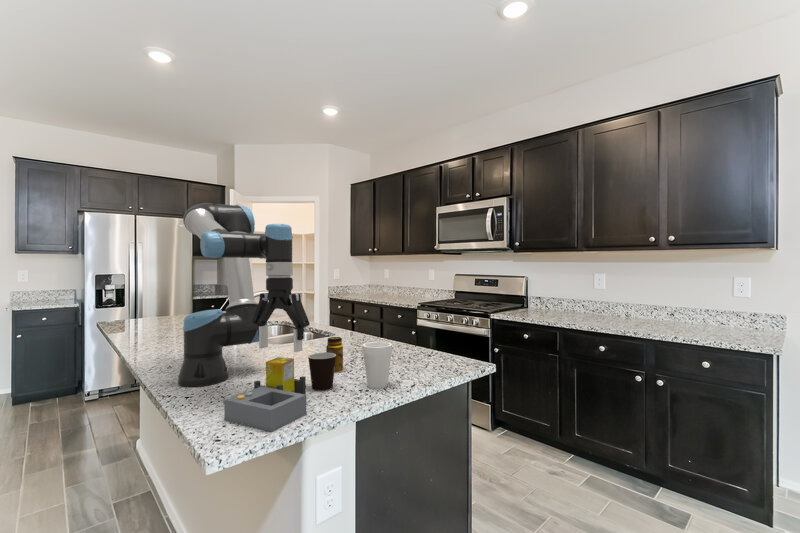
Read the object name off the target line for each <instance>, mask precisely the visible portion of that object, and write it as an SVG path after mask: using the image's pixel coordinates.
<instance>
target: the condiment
mask: <svg viewBox="0 0 800 533" xmlns="http://www.w3.org/2000/svg"><path fill="white" fill-rule="evenodd" d="M342 340H343V338H342V337H341V336H330V337H328V338H327V340H326V341H327V345H326V352H325V353H334V354H336V360H335V370H334V374H335V373H336V374H338V373H342V372H346V371H348V369H346V368H344V346H343V343H342V342H343V341H342Z"/></svg>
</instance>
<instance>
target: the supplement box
mask: <svg viewBox="0 0 800 533" xmlns="http://www.w3.org/2000/svg"><path fill="white" fill-rule="evenodd" d="M294 379H295V358H294V357H283V356H282V357H280V356H278V357H274V358H272V359H269V360H266V361H265V386H267V387H273V388H277V385H283V390H284V391H289V392H294Z"/></svg>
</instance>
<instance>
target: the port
mask: <svg viewBox="0 0 800 533" xmlns="http://www.w3.org/2000/svg"><path fill="white" fill-rule="evenodd" d="M262 386H263V385H262ZM262 386H261V387H259V388H256V389H254V388H253V389H250V390H248V391H244V392H243V393H239V394H236V395H234V396H231V397H228V398H225V399H224V401H223V402H224V403H223V404H224V405H223V406H224V408H223V409H224V410H223V411H224V414H223V416H224V421H228V422H233V423H235V424H240V425H244V426H248V427H252V428H255V429H259V430H263V431H265V432H266V431H267V432H275V430H278V429H279V428H282V427H283V426H285V425H288V424H290V423H292V422H294V421H295V420H297V419H299V418H302V417H303V416H306V415H307V412H308V411H307V394H300V393H294V392H289V391H284V390H278V389H273V388H268V387H262Z"/></svg>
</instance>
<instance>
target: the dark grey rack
mask: <svg viewBox="0 0 800 533" xmlns="http://www.w3.org/2000/svg"><path fill="white" fill-rule="evenodd" d="M306 378H307V377H306V376H303V375H302V376H299V379H297V378H294V393H300V394H305V395H307V393H306V392H307V391H306V390H307V389H306V388H307V387H306V386H307V385H306V380H307V379H306ZM261 386H262V387H267V386H266V385H261V380H254V381H253V389H256V388H259V387H261ZM268 388H273V387H268ZM273 389H278V390H283V385H277V388H273Z"/></svg>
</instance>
